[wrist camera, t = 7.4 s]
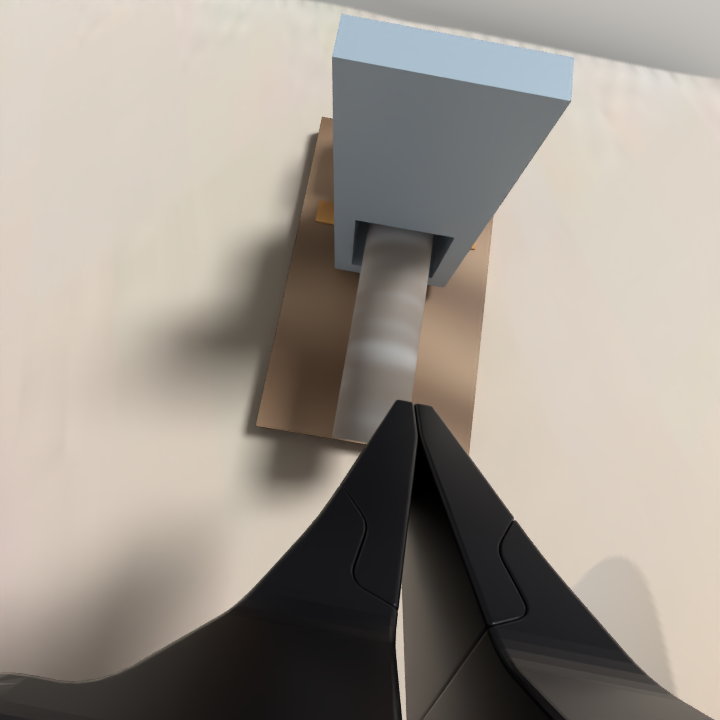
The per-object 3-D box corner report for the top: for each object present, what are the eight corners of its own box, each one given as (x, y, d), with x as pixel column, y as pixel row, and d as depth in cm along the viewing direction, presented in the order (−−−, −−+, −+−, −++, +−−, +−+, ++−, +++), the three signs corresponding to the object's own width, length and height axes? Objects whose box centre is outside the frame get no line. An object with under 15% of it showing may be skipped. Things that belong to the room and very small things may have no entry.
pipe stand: (461, 460, 20) (514, 466, 14) (259, 426, 20) (226, 418, 14) (493, 161, 24) (545, 66, 18) (322, 130, 23) (317, 23, 17)
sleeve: (444, 287, 20) (571, 101, 9) (334, 268, 20) (332, 57, 9) (451, 232, 20) (577, -4, 10) (345, 213, 20) (354, -46, 10)
